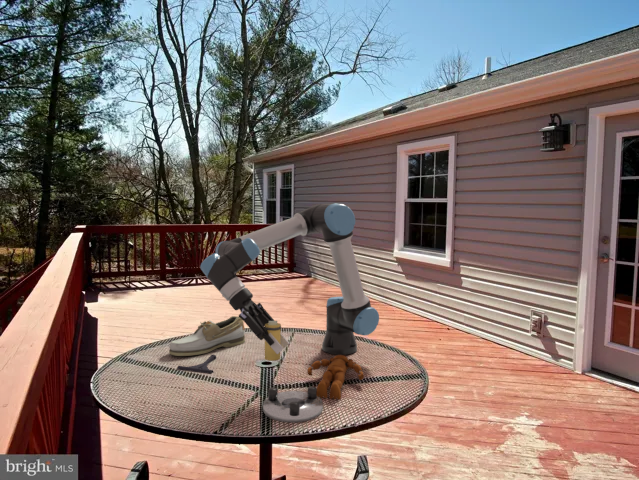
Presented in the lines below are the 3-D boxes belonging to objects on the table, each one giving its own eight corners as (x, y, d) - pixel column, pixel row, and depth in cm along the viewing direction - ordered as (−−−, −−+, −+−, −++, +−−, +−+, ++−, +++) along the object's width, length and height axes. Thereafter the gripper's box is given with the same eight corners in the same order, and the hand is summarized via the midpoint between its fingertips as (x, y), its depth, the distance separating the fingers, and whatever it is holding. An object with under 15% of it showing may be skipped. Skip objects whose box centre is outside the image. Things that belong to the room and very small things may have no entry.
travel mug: (280, 355, 141) (281, 319, 140) (280, 360, 136) (281, 323, 135) (264, 355, 140) (265, 319, 140) (264, 360, 135) (264, 323, 134)
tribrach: (319, 394, 139) (319, 381, 138) (326, 421, 121) (326, 405, 121) (263, 396, 137) (263, 382, 136) (262, 423, 119) (262, 407, 119)
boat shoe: (161, 354, 177) (161, 325, 176) (232, 337, 203) (232, 311, 203) (178, 362, 168) (178, 331, 167) (250, 343, 195) (250, 316, 194)
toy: (359, 405, 134) (368, 368, 163) (359, 384, 133) (368, 350, 162) (297, 399, 138) (317, 364, 167) (297, 379, 137) (317, 347, 166)
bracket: (230, 362, 170) (230, 355, 170) (211, 375, 156) (211, 367, 156) (198, 358, 174) (198, 351, 174) (177, 371, 160) (177, 363, 160)
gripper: (241, 296, 150) (285, 347, 146) (216, 307, 132) (265, 365, 129) (255, 282, 148) (300, 334, 145) (232, 291, 131) (282, 349, 127)
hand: (283, 348), depth 137 cm, fingers closed on travel mug, 5 cm apart
